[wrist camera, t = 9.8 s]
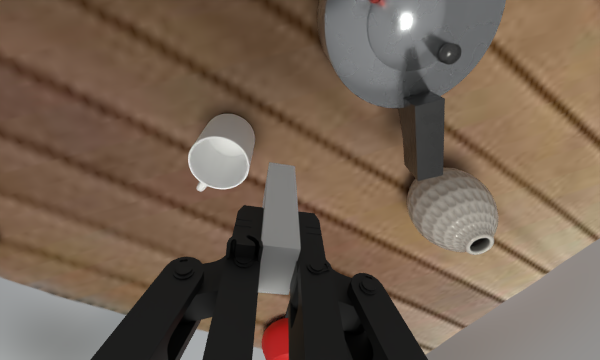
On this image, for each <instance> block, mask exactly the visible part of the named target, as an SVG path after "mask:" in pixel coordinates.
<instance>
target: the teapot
mask: <svg viewBox="0 0 600 360" xmlns="http://www.w3.org/2000/svg"><path fill="white" fill-rule="evenodd" d="M262 349H263V353H264V355H265V358H266V360H289V338H288V318H283V319H280V320H277V321H275V322H273V323H272V324H271V325H270V326H269V327H268V328H267V329H266V330H265V331H264V334H263V338H262Z"/></svg>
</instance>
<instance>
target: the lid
mask: <svg viewBox="0 0 600 360" xmlns="http://www.w3.org/2000/svg"><path fill="white" fill-rule="evenodd" d="M505 1H506V0H326V2H325V8H324V18H323V26H324V39H325V45H326V49H327V53H328V56H329V59H330V61H331V64H332V66H333V68H334V70H335V72H336V73H337V75H338V76H339V78H340V79H341V80H342V82H343V83H344V84H345V85H346V86H347V87H348V88H349V89H350V90H351V91H352V92H353V93H354V94H355V95H357V96H358V97H359V98H361V99H363V100H365V101H367V102H369V103H371V104H374V105H377V106H381V107H386V108H401V116H402V131H403V147H404V162H405V166H406V167H407V168H408V169H409V171H410V172H411V173H412V175H413V176H414V177H415V178H416V180H417V181H421V180H425V179H429V178H434V177H438V176H442V175H443V152H444V104H445V99H444V98H442V97H440V96H441V95H443V94H444V93H446V92H448V91H449V90H450V89H452V88H453V87H454V86H456V85H457V84H458V83H459V82H460V81H462V80H463V79H464V78H465V77H466V76H467V75H468V74H469V73H470V72H471V71H472V69H473V68H474V67H475V66H476V65H477V63H478V62H479V61H480V59H481V58H482V57H483V55H484V54H485V52H486V50H487V49H488V47H489V46H490V44H491V42H492V40H493V38H494V36H495V34H496V31H497V29H498V26H499V24H500V21H501V18H502V14H503V11H504V7H505Z"/></svg>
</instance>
